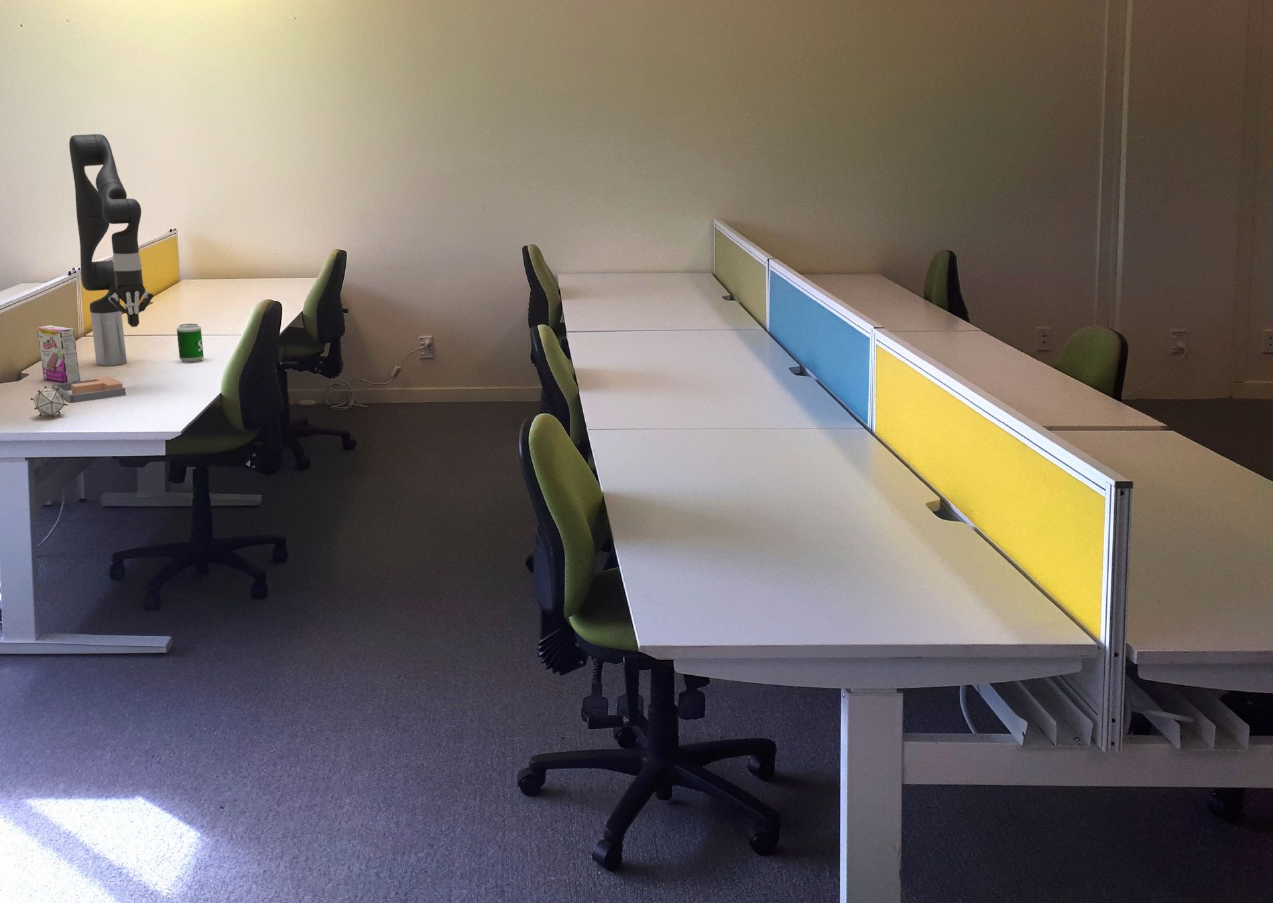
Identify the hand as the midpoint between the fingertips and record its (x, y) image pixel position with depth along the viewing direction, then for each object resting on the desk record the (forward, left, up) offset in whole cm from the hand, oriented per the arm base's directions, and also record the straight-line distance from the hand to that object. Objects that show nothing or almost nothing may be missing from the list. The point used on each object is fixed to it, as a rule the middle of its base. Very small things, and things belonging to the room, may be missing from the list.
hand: (133, 326), depth 361 cm
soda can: (-28, +26, -19) cm, 42 cm away
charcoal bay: (0, -14, -18) cm, 23 cm away
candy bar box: (-23, -16, -19) cm, 34 cm away
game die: (+22, -31, -19) cm, 42 cm away
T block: (0, -13, -18) cm, 22 cm away
